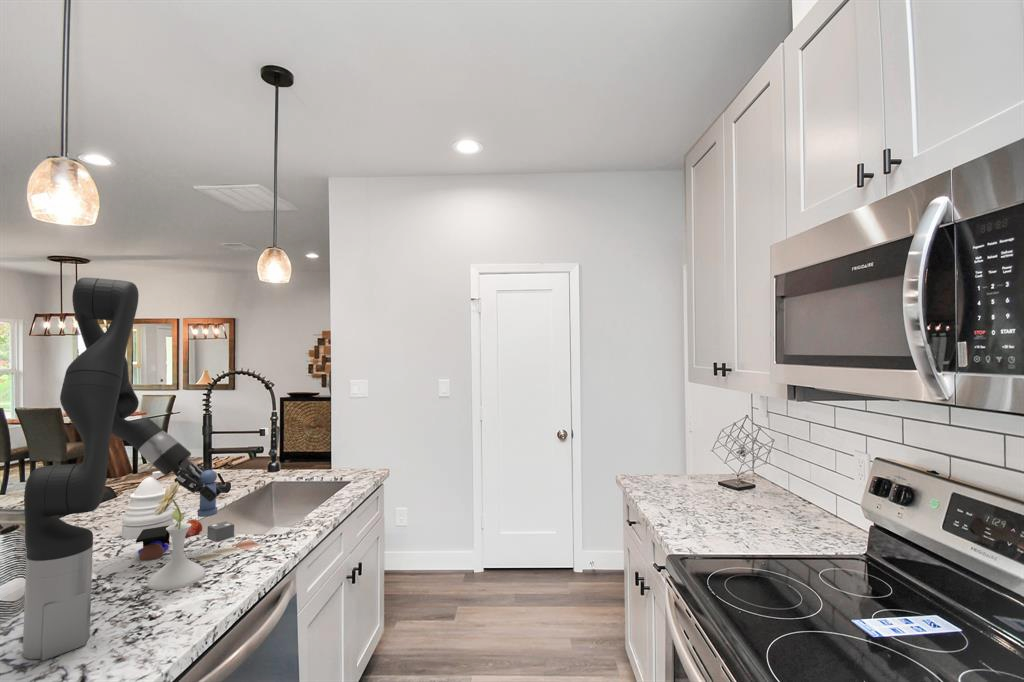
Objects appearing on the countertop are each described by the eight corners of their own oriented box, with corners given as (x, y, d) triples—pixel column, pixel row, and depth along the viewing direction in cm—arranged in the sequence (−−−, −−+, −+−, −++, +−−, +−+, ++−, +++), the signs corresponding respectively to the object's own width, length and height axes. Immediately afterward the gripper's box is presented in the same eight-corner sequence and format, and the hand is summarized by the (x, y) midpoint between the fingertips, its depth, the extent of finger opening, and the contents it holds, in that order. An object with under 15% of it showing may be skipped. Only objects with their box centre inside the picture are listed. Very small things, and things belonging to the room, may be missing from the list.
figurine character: (141, 555, 139) (133, 568, 126) (142, 526, 140) (134, 536, 127) (170, 550, 142) (165, 562, 129) (171, 522, 143) (167, 532, 130)
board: (264, 550, 138) (264, 544, 138) (202, 570, 125) (202, 564, 125) (248, 544, 143) (249, 538, 143) (187, 562, 130) (188, 557, 130)
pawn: (220, 513, 131) (221, 469, 131) (202, 517, 127) (203, 472, 127) (212, 510, 133) (213, 467, 134) (194, 515, 129) (195, 470, 130)
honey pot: (171, 522, 162) (173, 466, 163) (174, 532, 152) (176, 473, 153) (121, 530, 155) (123, 472, 155) (121, 542, 144) (123, 479, 145)
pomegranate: (186, 541, 150) (169, 532, 144) (198, 523, 153) (182, 514, 147) (201, 545, 148) (184, 536, 142) (212, 527, 151) (196, 517, 146)
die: (233, 541, 145) (234, 523, 145) (215, 547, 140) (216, 528, 141) (225, 538, 147) (225, 520, 148) (207, 543, 143) (207, 525, 143)
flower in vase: (156, 579, 120) (159, 475, 121) (210, 572, 124) (212, 471, 125) (137, 604, 108) (140, 488, 108) (197, 595, 112) (200, 483, 113)
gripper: (166, 445, 122) (220, 492, 125) (186, 438, 136) (235, 480, 138) (140, 469, 120) (196, 515, 123) (163, 458, 134) (213, 500, 137)
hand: (216, 496), depth 131 cm, fingers closed on pawn, 3 cm apart
